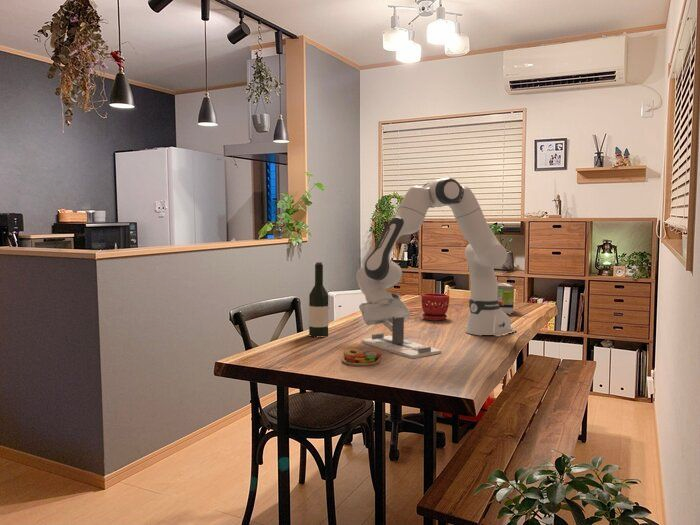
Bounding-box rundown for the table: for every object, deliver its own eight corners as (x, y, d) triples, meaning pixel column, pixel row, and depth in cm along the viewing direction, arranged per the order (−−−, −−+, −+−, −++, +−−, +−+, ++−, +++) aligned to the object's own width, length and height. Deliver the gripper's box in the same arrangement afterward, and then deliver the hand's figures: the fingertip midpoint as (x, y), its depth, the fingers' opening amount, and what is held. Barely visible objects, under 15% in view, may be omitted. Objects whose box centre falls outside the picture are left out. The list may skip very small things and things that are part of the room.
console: (389, 337, 226) (389, 331, 226) (441, 353, 201) (441, 346, 201) (361, 341, 218) (361, 335, 218) (411, 358, 193) (411, 350, 193)
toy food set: (344, 356, 196) (344, 347, 196) (382, 358, 195) (382, 348, 194) (339, 366, 183) (339, 357, 183) (380, 368, 182) (380, 358, 181)
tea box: (513, 314, 283) (514, 285, 282) (494, 314, 284) (494, 285, 282) (506, 309, 298) (506, 282, 297) (487, 309, 299) (488, 282, 297)
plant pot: (450, 321, 263) (451, 296, 262) (422, 321, 263) (423, 295, 262) (446, 316, 276) (447, 292, 275) (419, 316, 276) (420, 292, 275)
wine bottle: (331, 334, 232) (332, 262, 229) (324, 338, 224) (324, 263, 222) (313, 332, 235) (313, 261, 232) (305, 336, 227) (305, 262, 224)
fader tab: (398, 342, 213) (398, 315, 212) (403, 343, 210) (404, 316, 209) (392, 343, 211) (392, 316, 210) (397, 344, 208) (397, 317, 208)
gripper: (361, 298, 211) (376, 328, 204) (402, 294, 223) (418, 323, 216) (354, 308, 215) (368, 338, 208) (395, 304, 227) (411, 332, 220)
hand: (394, 330), depth 212 cm, fingers closed, pressing on fader tab
